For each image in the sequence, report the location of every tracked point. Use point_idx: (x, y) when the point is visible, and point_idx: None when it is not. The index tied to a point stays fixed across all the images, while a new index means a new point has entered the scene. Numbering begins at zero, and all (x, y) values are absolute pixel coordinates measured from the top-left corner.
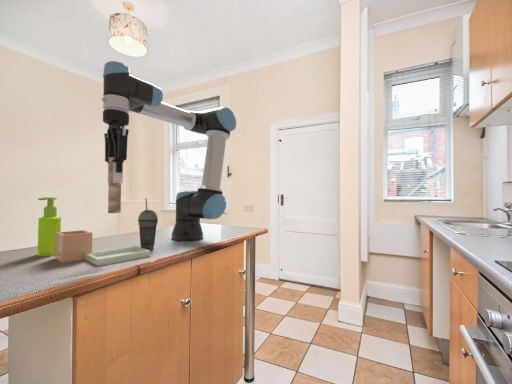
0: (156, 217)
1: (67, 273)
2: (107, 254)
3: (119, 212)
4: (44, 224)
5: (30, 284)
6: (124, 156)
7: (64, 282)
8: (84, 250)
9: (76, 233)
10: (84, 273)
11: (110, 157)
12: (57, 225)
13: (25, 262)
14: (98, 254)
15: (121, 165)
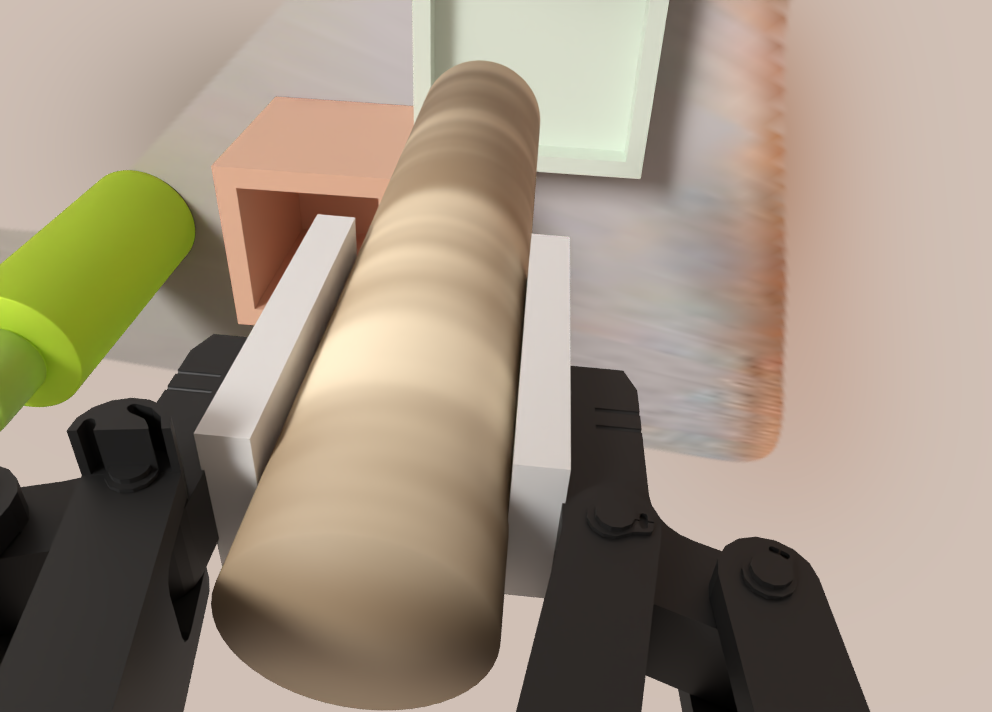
0: None
1: (599, 274)
2: (434, 18)
3: (533, 94)
4: (96, 366)
5: (638, 392)
6: (780, 644)
7: (724, 322)
8: None
9: (246, 212)
10: (666, 231)
11: (405, 701)
12: (88, 297)
13: (233, 322)
14: (432, 82)
15: (641, 478)
